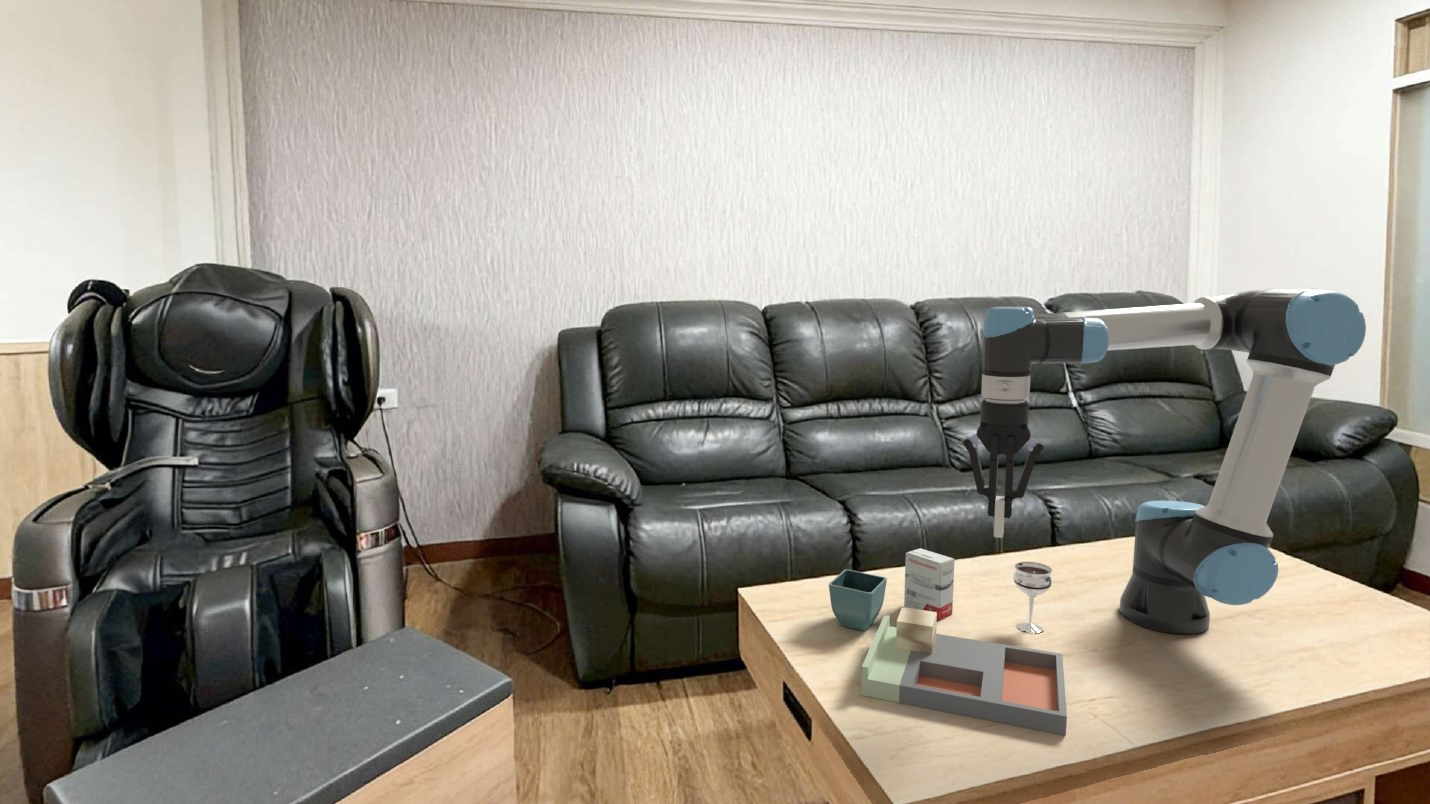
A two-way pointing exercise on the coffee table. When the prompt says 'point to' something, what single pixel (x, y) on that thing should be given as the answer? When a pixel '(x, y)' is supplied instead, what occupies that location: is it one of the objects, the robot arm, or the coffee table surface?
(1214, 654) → the coffee table surface
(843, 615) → the flower pot
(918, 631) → the birch block
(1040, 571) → the wineglass
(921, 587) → the ink box
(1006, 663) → the grey compartment tray
